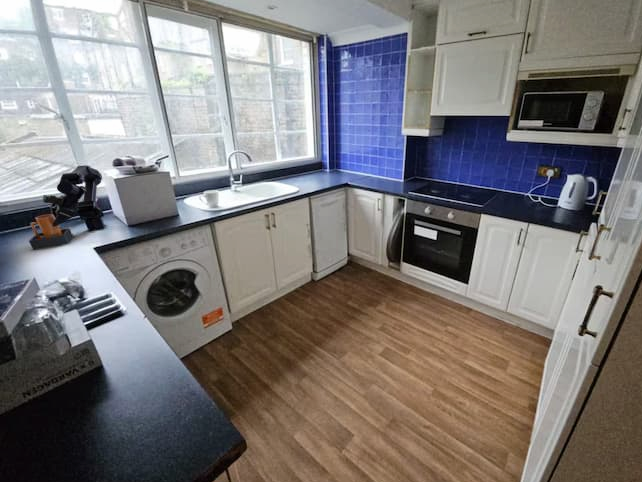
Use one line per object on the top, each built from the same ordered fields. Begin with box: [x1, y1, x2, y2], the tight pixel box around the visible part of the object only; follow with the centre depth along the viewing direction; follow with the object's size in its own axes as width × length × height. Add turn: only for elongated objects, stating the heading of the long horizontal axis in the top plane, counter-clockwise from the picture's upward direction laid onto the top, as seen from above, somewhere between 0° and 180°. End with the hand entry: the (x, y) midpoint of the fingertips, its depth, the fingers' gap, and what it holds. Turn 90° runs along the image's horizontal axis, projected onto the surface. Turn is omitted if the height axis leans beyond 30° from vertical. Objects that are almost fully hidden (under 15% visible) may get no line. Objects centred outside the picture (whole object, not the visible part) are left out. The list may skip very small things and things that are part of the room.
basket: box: [28, 227, 74, 251], centre depth 144 cm, size 12×11×5 cm
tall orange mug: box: [29, 213, 63, 239], centre depth 141 cm, size 9×6×13 cm
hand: (51, 224), depth 142 cm, fingers open, 9 cm apart
